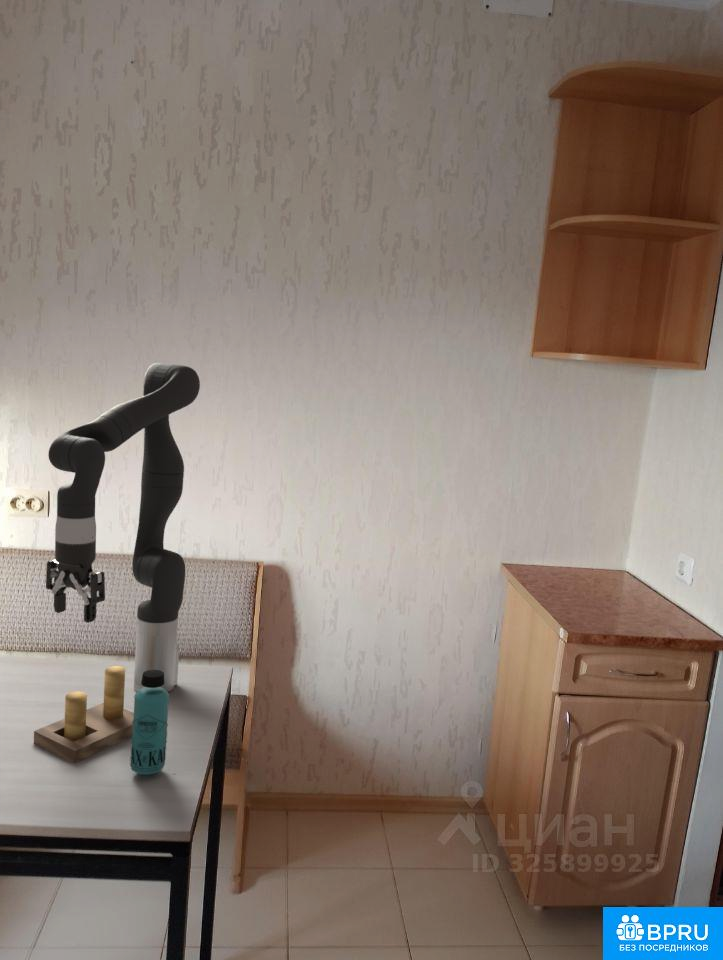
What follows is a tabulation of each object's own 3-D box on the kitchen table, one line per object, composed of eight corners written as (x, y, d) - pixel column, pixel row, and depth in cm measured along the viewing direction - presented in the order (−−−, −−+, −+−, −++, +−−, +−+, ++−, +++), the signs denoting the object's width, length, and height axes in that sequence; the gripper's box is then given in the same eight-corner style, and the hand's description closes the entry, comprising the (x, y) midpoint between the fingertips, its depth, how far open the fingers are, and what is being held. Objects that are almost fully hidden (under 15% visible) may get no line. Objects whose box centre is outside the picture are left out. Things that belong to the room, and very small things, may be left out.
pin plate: (106, 712, 171) (108, 657, 169) (145, 729, 165) (148, 672, 163) (33, 742, 156) (35, 682, 154) (74, 763, 150) (76, 700, 148)
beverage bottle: (127, 766, 150) (132, 666, 147) (163, 763, 152) (168, 664, 149) (130, 784, 144) (135, 680, 141) (167, 780, 146) (173, 678, 143)
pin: (76, 736, 160) (77, 689, 158) (89, 742, 158) (91, 695, 156) (59, 743, 156) (61, 696, 155) (73, 750, 154) (74, 701, 153)
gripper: (116, 541, 155) (114, 620, 158) (66, 528, 162) (65, 604, 164) (85, 547, 148) (84, 630, 151) (35, 534, 155) (34, 613, 158)
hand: (74, 616), depth 158 cm, fingers open, 8 cm apart
